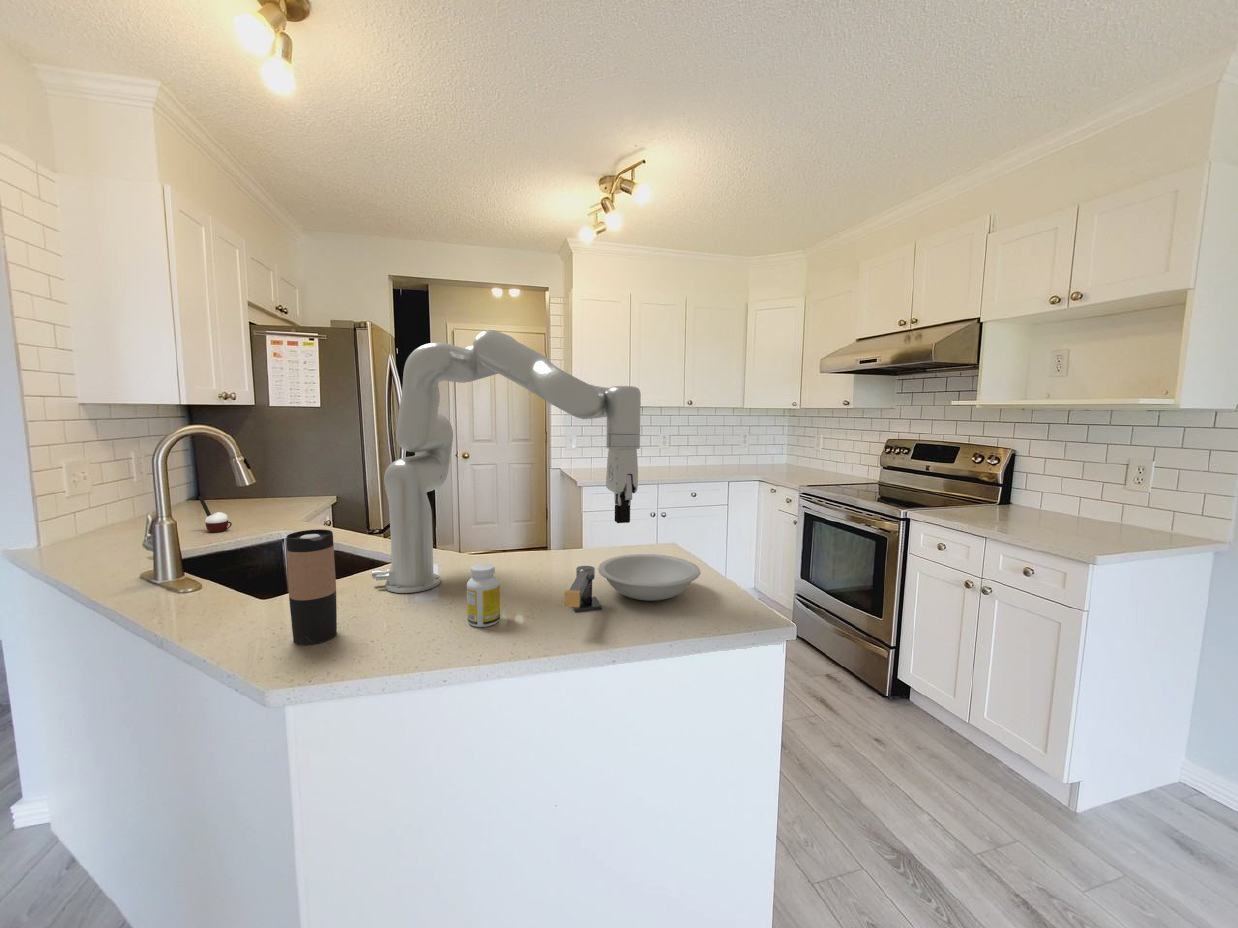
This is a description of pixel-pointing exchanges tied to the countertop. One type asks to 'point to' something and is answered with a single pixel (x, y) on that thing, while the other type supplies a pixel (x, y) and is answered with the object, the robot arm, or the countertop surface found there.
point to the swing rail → (579, 585)
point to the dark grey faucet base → (588, 600)
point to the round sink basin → (649, 575)
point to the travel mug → (312, 586)
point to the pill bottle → (483, 596)
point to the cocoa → (215, 520)
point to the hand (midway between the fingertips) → (622, 521)
